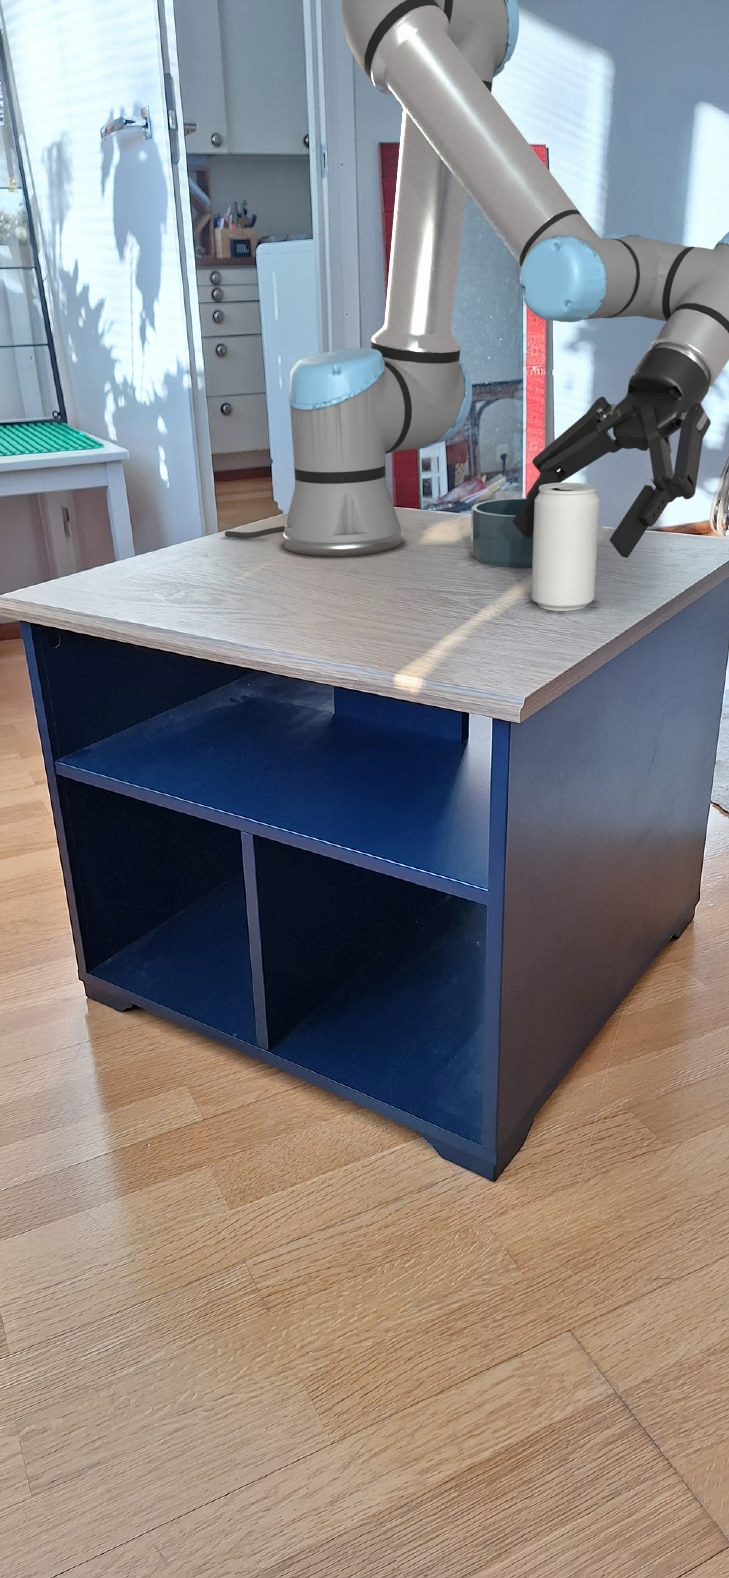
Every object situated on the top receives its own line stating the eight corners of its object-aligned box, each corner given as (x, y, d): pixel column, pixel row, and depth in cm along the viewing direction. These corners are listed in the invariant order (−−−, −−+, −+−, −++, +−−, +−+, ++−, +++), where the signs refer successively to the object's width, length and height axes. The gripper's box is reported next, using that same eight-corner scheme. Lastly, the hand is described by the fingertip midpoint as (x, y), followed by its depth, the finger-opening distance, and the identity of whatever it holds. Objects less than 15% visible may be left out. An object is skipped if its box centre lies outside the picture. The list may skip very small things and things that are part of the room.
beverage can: (519, 607, 115) (522, 487, 110) (552, 593, 119) (557, 478, 114) (572, 616, 111) (578, 493, 106) (605, 602, 115) (612, 483, 110)
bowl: (453, 561, 134) (453, 511, 132) (501, 542, 143) (502, 495, 141) (544, 572, 128) (546, 519, 125) (589, 552, 137) (591, 502, 134)
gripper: (798, 401, 107) (681, 582, 105) (604, 390, 126) (503, 543, 124) (769, 345, 102) (647, 533, 100) (573, 342, 121) (466, 500, 119)
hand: (567, 539), depth 112 cm, fingers open, 13 cm apart
